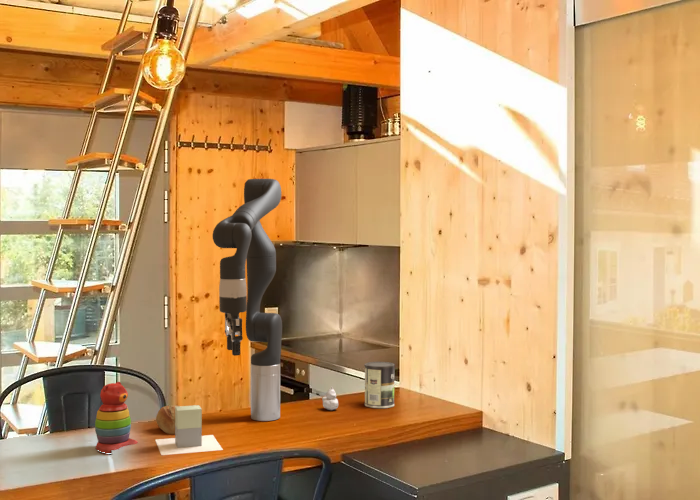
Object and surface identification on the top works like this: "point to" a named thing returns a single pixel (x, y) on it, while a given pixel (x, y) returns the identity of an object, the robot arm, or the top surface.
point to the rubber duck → (330, 400)
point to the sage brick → (188, 417)
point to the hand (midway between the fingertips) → (233, 352)
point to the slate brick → (188, 437)
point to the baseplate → (170, 447)
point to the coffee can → (379, 384)
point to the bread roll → (166, 419)
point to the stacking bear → (113, 419)
